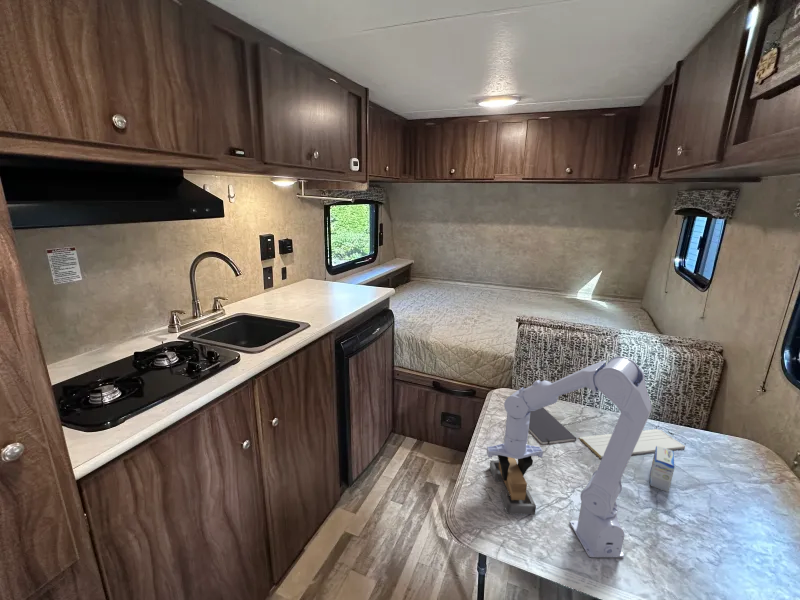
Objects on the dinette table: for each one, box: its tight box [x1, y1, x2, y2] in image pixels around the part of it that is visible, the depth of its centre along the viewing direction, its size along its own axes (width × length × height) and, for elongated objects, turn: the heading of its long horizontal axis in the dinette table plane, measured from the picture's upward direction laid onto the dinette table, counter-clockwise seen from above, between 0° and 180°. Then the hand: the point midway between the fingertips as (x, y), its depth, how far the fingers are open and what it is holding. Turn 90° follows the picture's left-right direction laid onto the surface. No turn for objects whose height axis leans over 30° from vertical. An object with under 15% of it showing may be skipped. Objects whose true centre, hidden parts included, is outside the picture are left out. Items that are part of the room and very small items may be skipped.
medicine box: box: [649, 446, 676, 493], centre depth 102 cm, size 8×4×9 cm, turn 145°
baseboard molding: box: [578, 425, 686, 459], centre depth 121 cm, size 31×3×12 cm
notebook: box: [528, 407, 577, 445], centre depth 130 cm, size 13×2×21 cm
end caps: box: [489, 460, 537, 515], centre depth 99 cm, size 17×7×2 cm, turn 1°
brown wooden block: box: [499, 457, 528, 500], centre depth 99 cm, size 12×4×5 cm, turn 1°
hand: (511, 478), depth 99 cm, fingers closed on brown wooden block, 3 cm apart
